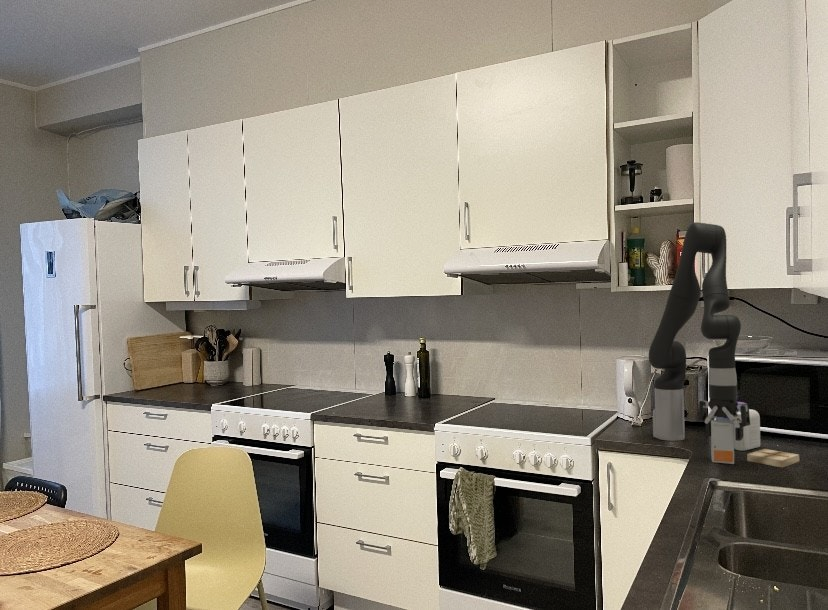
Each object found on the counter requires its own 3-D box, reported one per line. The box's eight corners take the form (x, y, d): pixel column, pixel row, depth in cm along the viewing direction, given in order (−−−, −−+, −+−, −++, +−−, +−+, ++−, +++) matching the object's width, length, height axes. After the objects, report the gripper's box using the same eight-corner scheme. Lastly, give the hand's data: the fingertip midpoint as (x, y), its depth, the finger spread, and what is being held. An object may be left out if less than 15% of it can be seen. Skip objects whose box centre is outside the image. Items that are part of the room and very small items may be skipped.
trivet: (747, 460, 193) (747, 453, 193) (764, 455, 199) (764, 447, 199) (782, 467, 185) (782, 459, 185) (799, 461, 191) (799, 453, 191)
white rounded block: (749, 444, 213) (748, 406, 213) (762, 447, 209) (761, 408, 209) (731, 449, 207) (730, 410, 207) (744, 452, 204) (743, 412, 203)
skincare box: (712, 462, 192) (711, 422, 192) (711, 459, 196) (710, 419, 196) (735, 464, 190) (734, 423, 190) (733, 460, 194) (733, 420, 194)
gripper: (692, 382, 196) (694, 436, 196) (740, 386, 185) (741, 443, 185) (706, 379, 201) (708, 432, 201) (753, 383, 189) (755, 439, 189)
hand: (724, 438), depth 193 cm, fingers open, 8 cm apart
